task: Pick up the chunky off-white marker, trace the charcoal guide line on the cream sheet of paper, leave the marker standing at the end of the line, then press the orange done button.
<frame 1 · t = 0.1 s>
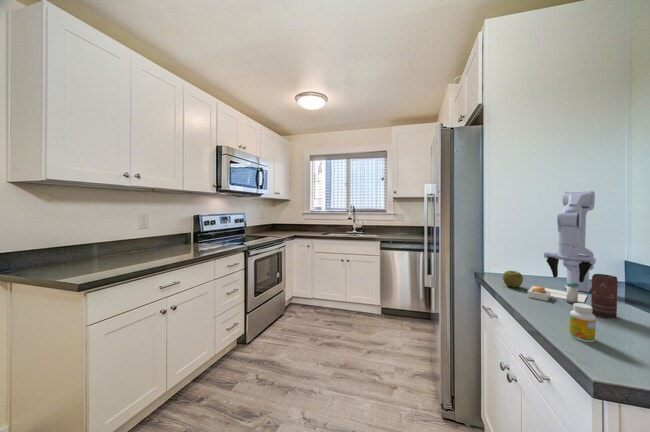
hand: (567, 279, 101), 10 cm above the countertop, tool pointing down, fingers open, 7 cm apart
can: (603, 315, 92), on the countertop
apple: (512, 287, 124), on the countertop
paper: (556, 294, 113), on the countertop
done button: (539, 290, 110), point 3 cm above the countertop, slide at 0.0 cm
button housing: (539, 297, 110), on the countertop
supplement bottle: (581, 338, 77), on the countertop
marker: (572, 303, 103), on the countertop
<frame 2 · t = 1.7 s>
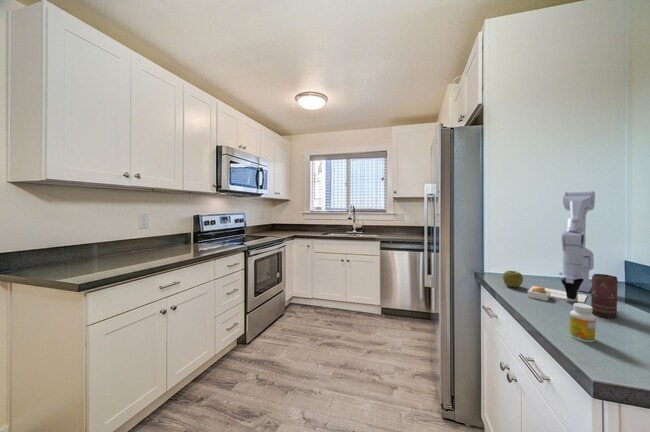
hand: (572, 297, 103), 2 cm above the countertop, tool pointing down, fingers closed on marker, 3 cm apart
marker: (572, 303, 103), on the countertop, touching gripper
everything else where it was.
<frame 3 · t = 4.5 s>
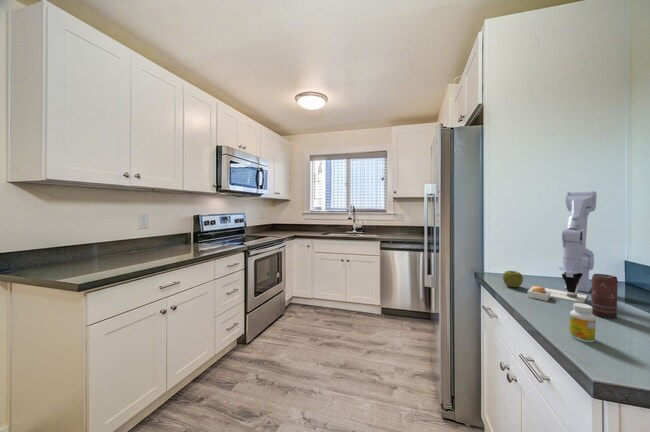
hand: (571, 291, 109), 3 cm above the countertop, tool pointing down, fingers closed on marker, 3 cm apart
marker: (571, 296, 109), resting on paper, touching gripper
everything else where it was.
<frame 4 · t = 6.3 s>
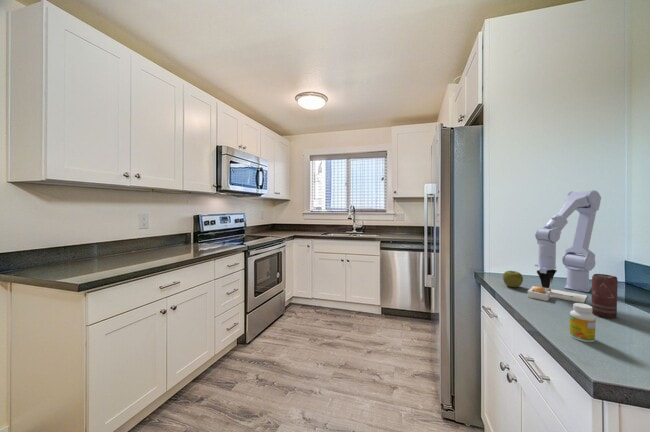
hand: (546, 286, 115), 3 cm above the countertop, tool pointing down, fingers closed on marker, 3 cm apart
marker: (546, 291, 115), resting on paper, touching gripper
everything else where it was.
when the fingers open (3 cm above the countertop, at t = 7.2 s): marker stays where it is, resting on paper.
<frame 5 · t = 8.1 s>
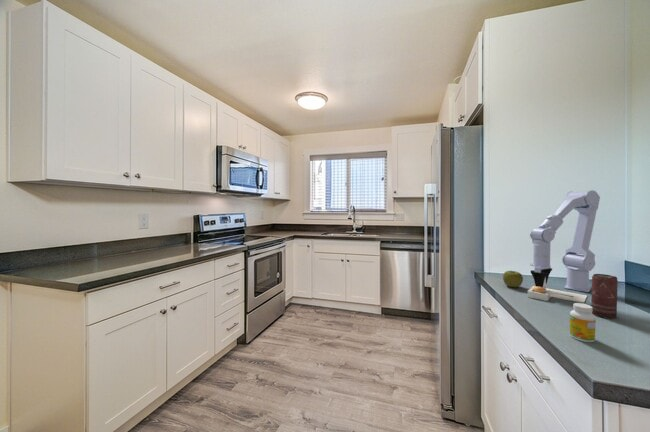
hand: (541, 285, 117), 3 cm above the countertop, tool pointing down, fingers open, 7 cm apart
marker: (541, 290, 117), resting on paper
everything else where it was.
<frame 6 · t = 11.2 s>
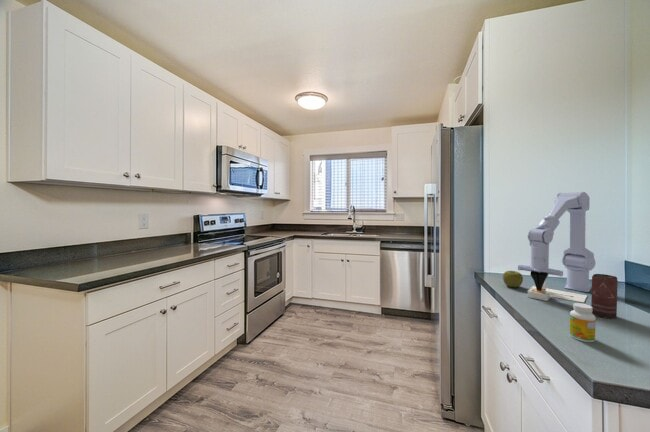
hand: (539, 289, 110), 3 cm above the countertop, tool pointing down, fingers closed, pressing on done button
done button: (539, 292, 110), point 2 cm above the countertop, slide at 1.0 cm, touching gripper
everything else where it was.
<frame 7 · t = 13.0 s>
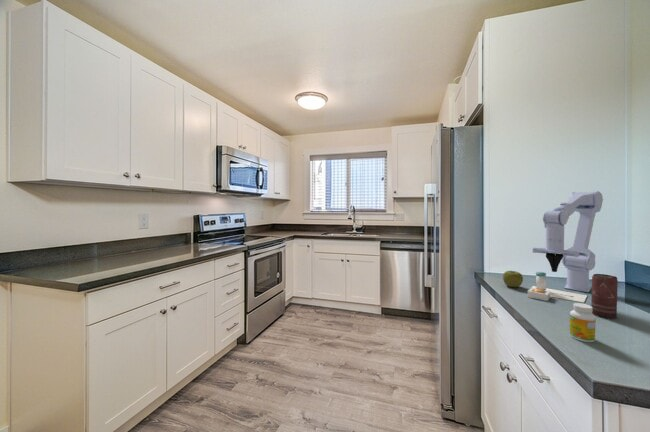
hand: (554, 271, 111), 10 cm above the countertop, tool pointing down, fingers closed
done button: (539, 293, 110), point 2 cm above the countertop, slide at 1.0 cm
everything else where it was.
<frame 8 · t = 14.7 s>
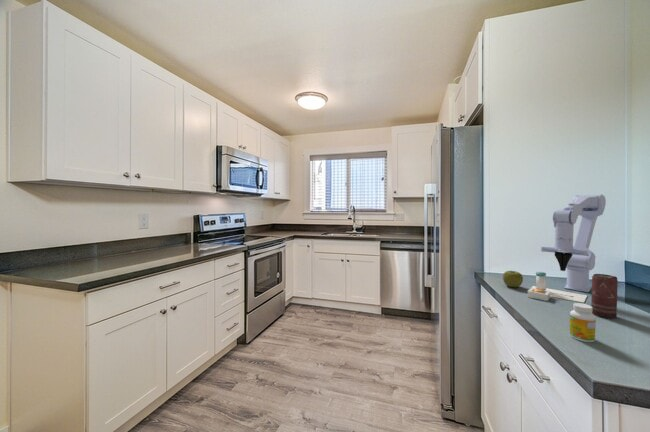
hand: (563, 270, 112), 10 cm above the countertop, tool pointing down, fingers closed
nothing on the countertop moved.
at the end: done button slide at 1.0 cm; marker 0.0 cm from the target spot, resting on paper; marker tilted 1° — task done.
